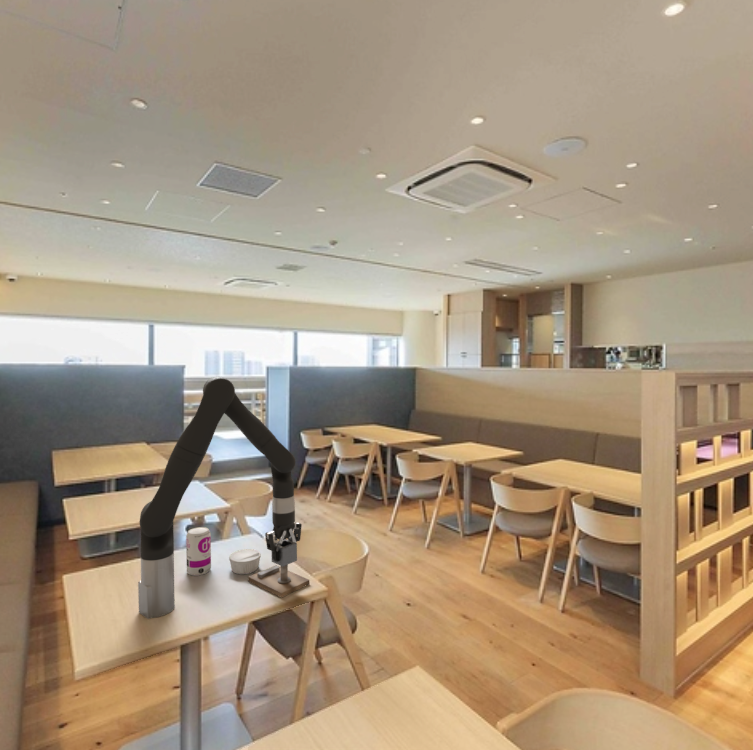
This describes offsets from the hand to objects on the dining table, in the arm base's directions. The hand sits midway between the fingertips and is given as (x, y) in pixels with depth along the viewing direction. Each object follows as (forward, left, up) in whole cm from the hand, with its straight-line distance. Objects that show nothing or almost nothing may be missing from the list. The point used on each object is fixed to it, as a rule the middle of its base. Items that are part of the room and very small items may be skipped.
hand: (284, 557), depth 162 cm
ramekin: (-1, +21, -10) cm, 23 cm away
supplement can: (-13, +32, -10) cm, 36 cm away
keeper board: (0, +3, -9) cm, 10 cm away
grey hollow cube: (0, 0, -1) cm, 1 cm away
